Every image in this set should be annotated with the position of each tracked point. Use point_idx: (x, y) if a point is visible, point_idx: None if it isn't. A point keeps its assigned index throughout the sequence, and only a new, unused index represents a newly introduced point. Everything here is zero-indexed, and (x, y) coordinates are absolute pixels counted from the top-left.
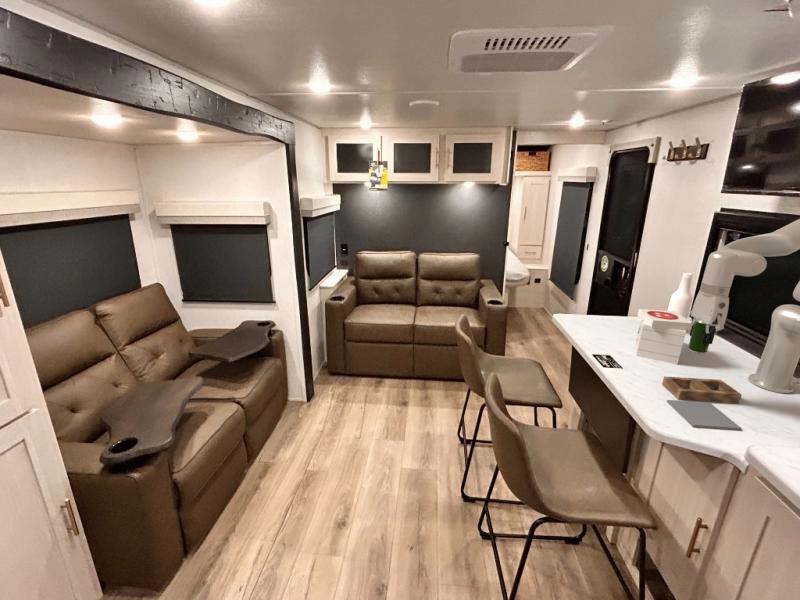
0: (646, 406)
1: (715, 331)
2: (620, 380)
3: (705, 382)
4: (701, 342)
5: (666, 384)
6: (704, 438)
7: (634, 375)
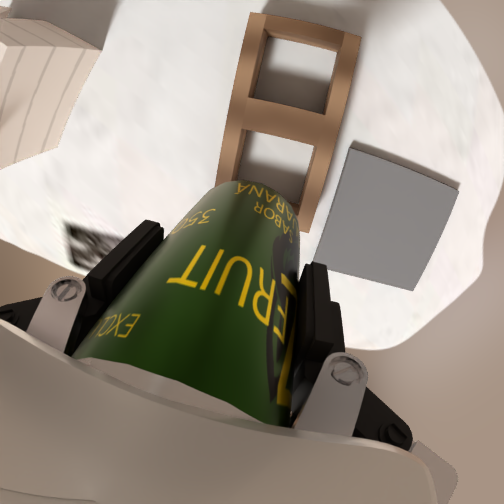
0: None
1: (374, 419)
2: None
3: (254, 74)
4: None
5: None
6: (440, 295)
7: None
